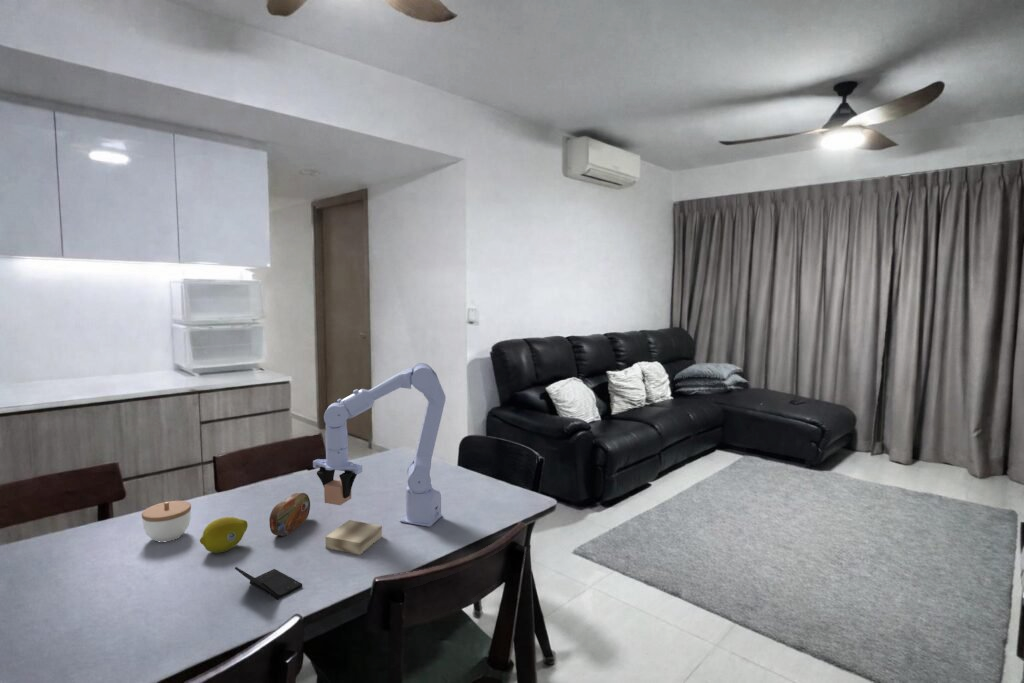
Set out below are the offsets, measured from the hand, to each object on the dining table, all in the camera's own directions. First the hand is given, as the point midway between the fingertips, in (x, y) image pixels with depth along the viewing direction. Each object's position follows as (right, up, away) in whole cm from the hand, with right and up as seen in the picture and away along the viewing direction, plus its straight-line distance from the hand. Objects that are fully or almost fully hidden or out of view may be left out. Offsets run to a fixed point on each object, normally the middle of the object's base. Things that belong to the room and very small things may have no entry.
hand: (338, 495), depth 145 cm
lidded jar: (-42, -9, -7) cm, 43 cm away
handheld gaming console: (-5, -12, -30) cm, 33 cm away
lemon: (-24, -10, -13) cm, 29 cm away
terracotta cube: (0, -1, 0) cm, 1 cm away
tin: (-12, -9, -1) cm, 15 cm away
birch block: (+7, -9, -9) cm, 15 cm away
